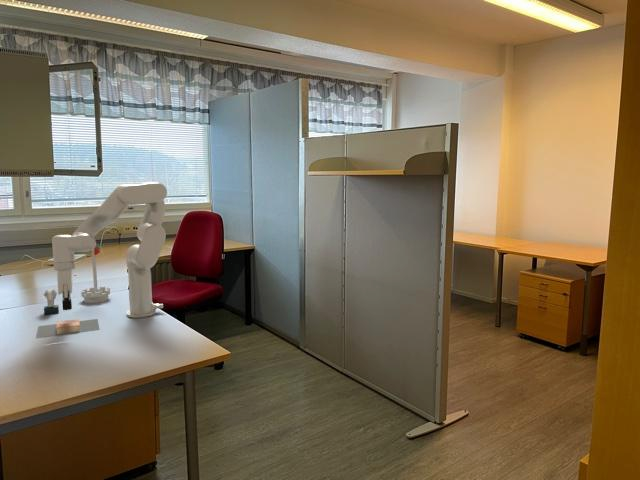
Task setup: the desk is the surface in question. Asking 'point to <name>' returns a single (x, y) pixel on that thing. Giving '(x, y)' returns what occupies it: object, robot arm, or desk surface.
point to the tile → (68, 326)
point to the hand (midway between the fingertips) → (67, 309)
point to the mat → (52, 331)
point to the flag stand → (95, 286)
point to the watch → (50, 302)
